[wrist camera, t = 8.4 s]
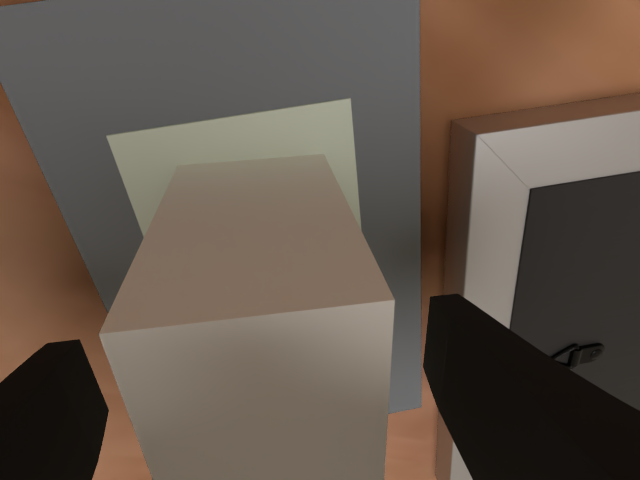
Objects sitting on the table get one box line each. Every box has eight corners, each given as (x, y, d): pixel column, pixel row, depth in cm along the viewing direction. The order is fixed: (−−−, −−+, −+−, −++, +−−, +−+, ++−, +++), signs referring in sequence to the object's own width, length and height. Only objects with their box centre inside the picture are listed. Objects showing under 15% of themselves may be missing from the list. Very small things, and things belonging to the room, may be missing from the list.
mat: (-16, 10, 9) (-36, 10, 8) (410, -47, 9) (420, -50, 9) (177, 441, 16) (174, 459, 15) (416, 394, 16) (422, 409, 16)
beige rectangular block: (219, 366, 13) (197, 599, 8) (177, 165, 10) (97, 334, 5) (330, 352, 14) (378, 566, 8) (324, 153, 10) (395, 300, 5)
